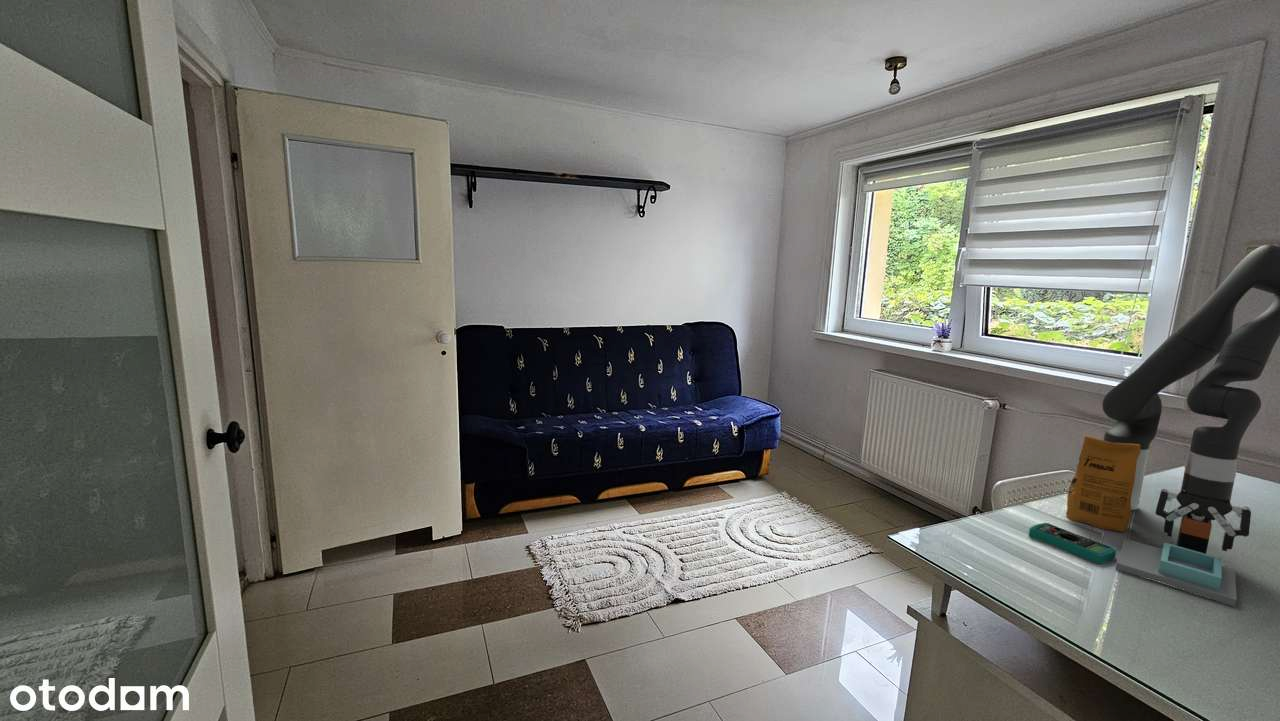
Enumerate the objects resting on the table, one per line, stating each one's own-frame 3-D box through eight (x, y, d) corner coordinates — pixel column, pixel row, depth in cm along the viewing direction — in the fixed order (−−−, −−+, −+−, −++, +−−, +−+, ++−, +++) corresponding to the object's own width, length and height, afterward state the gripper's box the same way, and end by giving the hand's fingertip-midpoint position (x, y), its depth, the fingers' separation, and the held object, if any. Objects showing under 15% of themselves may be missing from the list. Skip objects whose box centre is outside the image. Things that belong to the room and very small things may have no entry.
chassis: (1115, 569, 111) (1118, 551, 110) (1124, 544, 121) (1127, 528, 121) (1235, 607, 98) (1239, 587, 98) (1233, 576, 109) (1237, 558, 108)
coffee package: (1066, 507, 141) (1079, 430, 138) (1128, 523, 133) (1143, 441, 129) (1062, 519, 134) (1075, 437, 131) (1127, 536, 126) (1143, 449, 122)
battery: (1176, 555, 117) (1184, 514, 115) (1176, 545, 122) (1183, 505, 120) (1204, 563, 114) (1213, 521, 112) (1203, 552, 119) (1211, 512, 117)
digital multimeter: (1041, 530, 129) (1043, 519, 128) (1116, 559, 116) (1118, 547, 115) (1025, 536, 126) (1026, 525, 125) (1100, 567, 112) (1102, 554, 112)
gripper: (1163, 469, 117) (1151, 536, 120) (1260, 488, 107) (1245, 561, 109) (1164, 462, 122) (1153, 526, 125) (1257, 479, 112) (1242, 549, 114)
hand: (1196, 542), depth 117 cm, fingers open, 8 cm apart
